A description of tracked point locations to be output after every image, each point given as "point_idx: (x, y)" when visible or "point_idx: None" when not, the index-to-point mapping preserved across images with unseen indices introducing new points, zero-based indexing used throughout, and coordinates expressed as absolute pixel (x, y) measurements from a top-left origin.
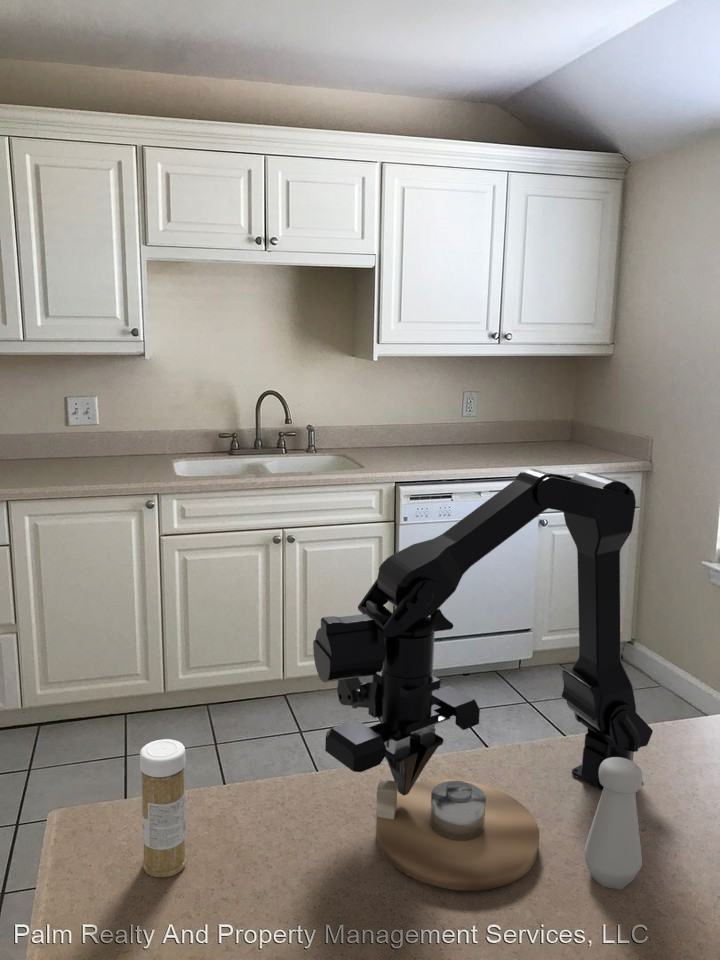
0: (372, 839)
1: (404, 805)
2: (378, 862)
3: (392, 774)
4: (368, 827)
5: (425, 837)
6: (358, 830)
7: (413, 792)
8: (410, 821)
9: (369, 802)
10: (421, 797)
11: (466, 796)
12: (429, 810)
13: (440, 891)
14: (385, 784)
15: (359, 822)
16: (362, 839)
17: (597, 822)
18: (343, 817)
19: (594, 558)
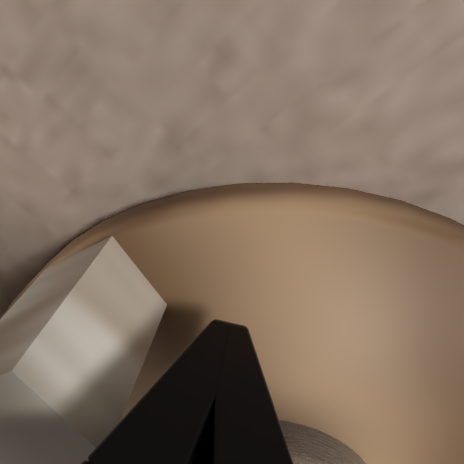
0: (55, 234)
1: (220, 315)
2: (2, 311)
3: (136, 406)
4: (89, 175)
5: None
6: (39, 157)
7: (358, 290)
8: (148, 380)
9: (241, 33)
10: (341, 338)
11: None
12: (272, 398)
13: None
14: (6, 419)
15: (78, 120)
16: (21, 206)
17: None
18: (33, 25)
19: None
